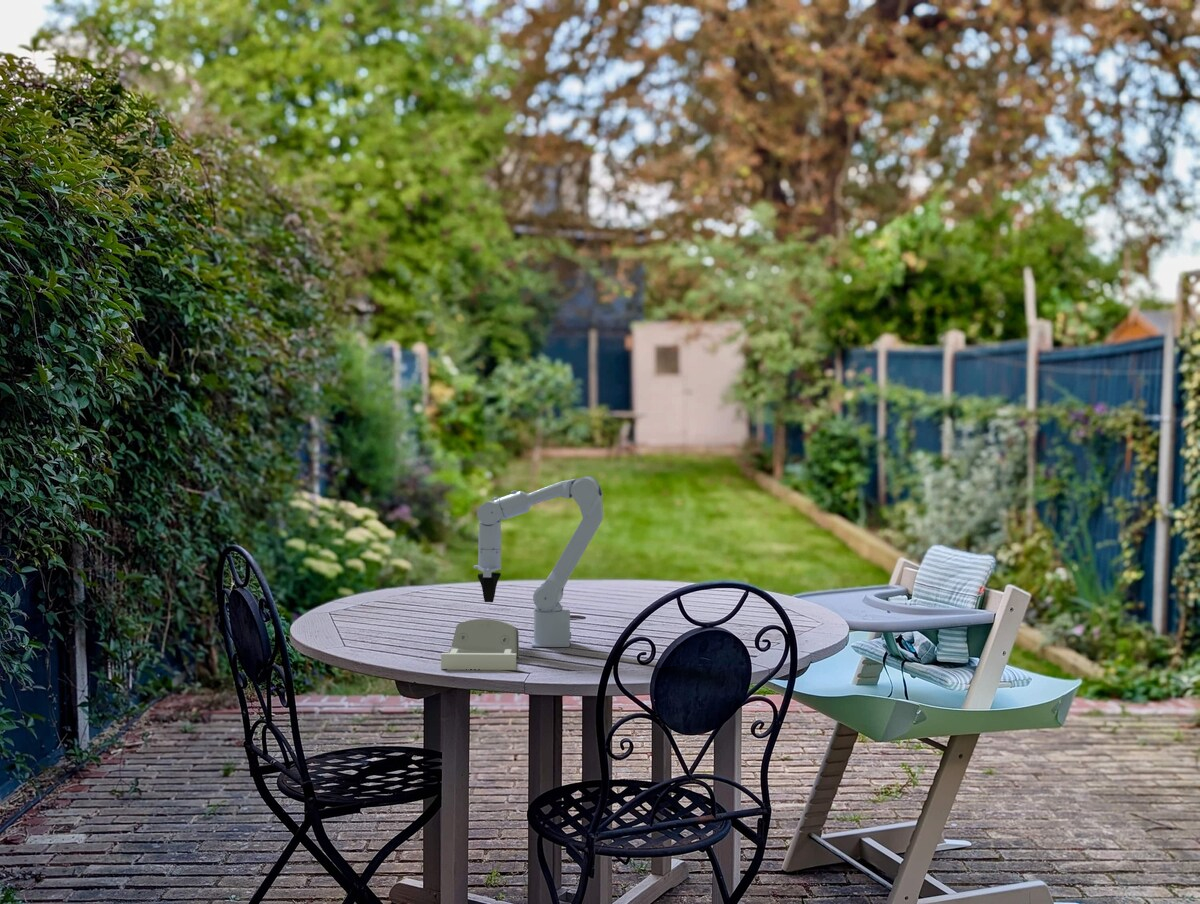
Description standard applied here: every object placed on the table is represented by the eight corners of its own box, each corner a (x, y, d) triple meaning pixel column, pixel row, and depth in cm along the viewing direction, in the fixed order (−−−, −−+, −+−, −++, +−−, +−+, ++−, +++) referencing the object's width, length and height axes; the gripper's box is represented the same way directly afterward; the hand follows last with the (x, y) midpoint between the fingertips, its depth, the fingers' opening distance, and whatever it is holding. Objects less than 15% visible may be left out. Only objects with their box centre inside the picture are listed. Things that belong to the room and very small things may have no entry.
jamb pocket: (517, 661, 265) (517, 647, 265) (515, 670, 257) (515, 654, 256) (445, 661, 265) (445, 646, 265) (440, 669, 256) (441, 654, 256)
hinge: (446, 657, 270) (452, 615, 273) (453, 660, 274) (458, 619, 277) (513, 661, 266) (518, 619, 269) (519, 664, 270) (523, 622, 273)
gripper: (476, 545, 294) (475, 597, 294) (471, 551, 279) (470, 606, 280) (503, 545, 294) (502, 597, 294) (499, 552, 279) (498, 606, 280)
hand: (488, 601), depth 287 cm, fingers closed
